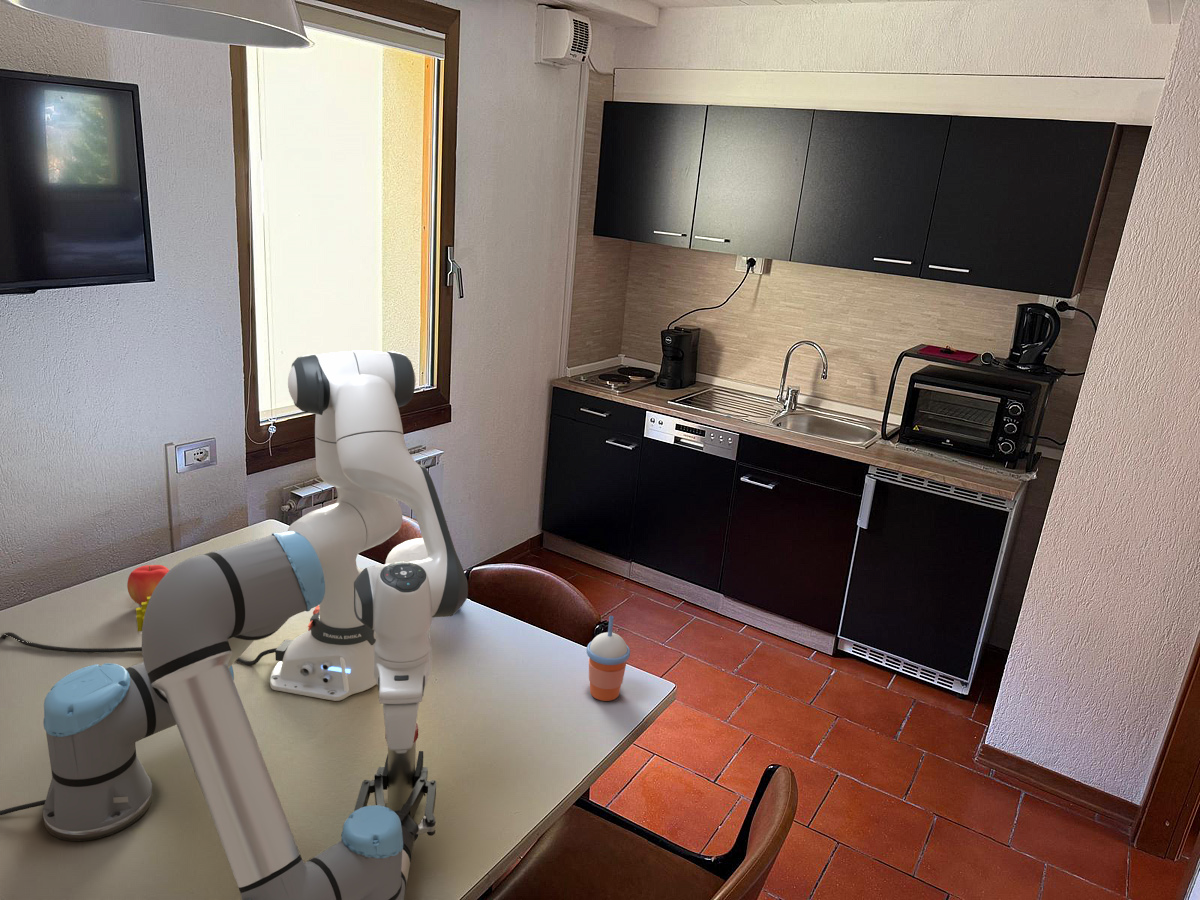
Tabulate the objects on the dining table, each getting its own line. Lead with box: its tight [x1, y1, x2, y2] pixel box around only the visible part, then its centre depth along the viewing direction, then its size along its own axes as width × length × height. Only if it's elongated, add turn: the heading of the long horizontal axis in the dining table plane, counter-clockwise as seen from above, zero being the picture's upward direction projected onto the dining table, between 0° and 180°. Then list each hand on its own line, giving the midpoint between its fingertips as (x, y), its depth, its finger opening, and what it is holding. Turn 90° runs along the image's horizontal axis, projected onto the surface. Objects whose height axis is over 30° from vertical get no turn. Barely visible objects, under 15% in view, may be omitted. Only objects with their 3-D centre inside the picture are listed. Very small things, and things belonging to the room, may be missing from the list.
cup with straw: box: [586, 615, 631, 702], centre depth 178 cm, size 9×9×18 cm
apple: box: [126, 564, 171, 607], centre depth 199 cm, size 10×10×10 cm
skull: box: [384, 537, 463, 608], centre depth 211 cm, size 13×22×16 cm, turn 67°
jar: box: [387, 740, 417, 811], centre depth 141 cm, size 4×4×15 cm
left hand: (405, 757), depth 146 cm, fingers closed on jar, 4 cm apart
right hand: (401, 738), depth 139 cm, fingers closed on lid, 5 cm apart
